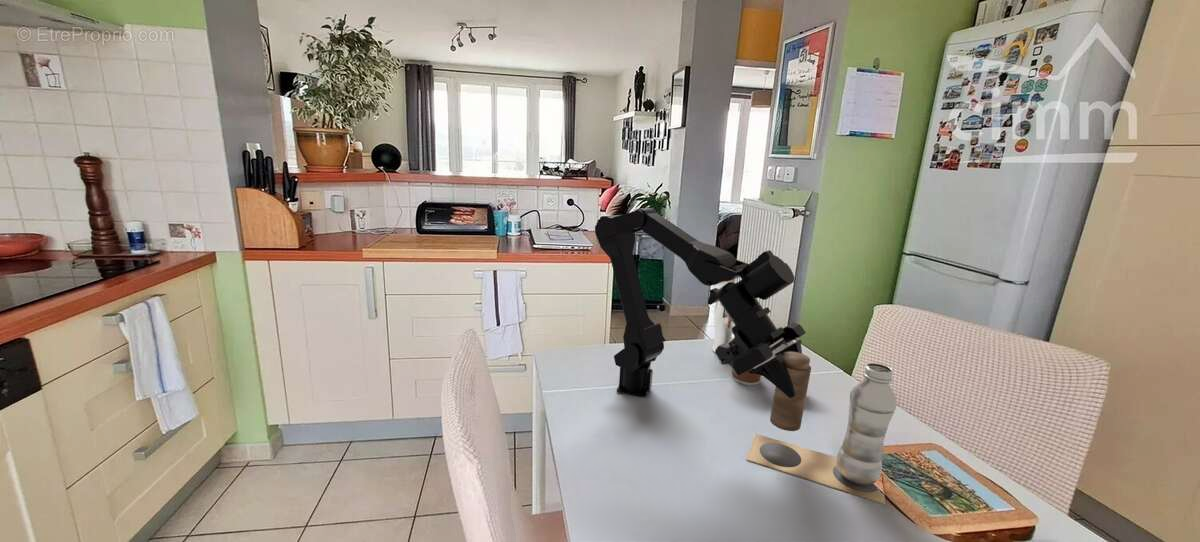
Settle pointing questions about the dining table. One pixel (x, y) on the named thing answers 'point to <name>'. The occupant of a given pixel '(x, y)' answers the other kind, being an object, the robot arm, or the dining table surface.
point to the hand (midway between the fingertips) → (798, 391)
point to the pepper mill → (791, 409)
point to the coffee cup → (746, 376)
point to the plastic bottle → (867, 426)
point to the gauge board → (807, 466)
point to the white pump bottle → (722, 326)
